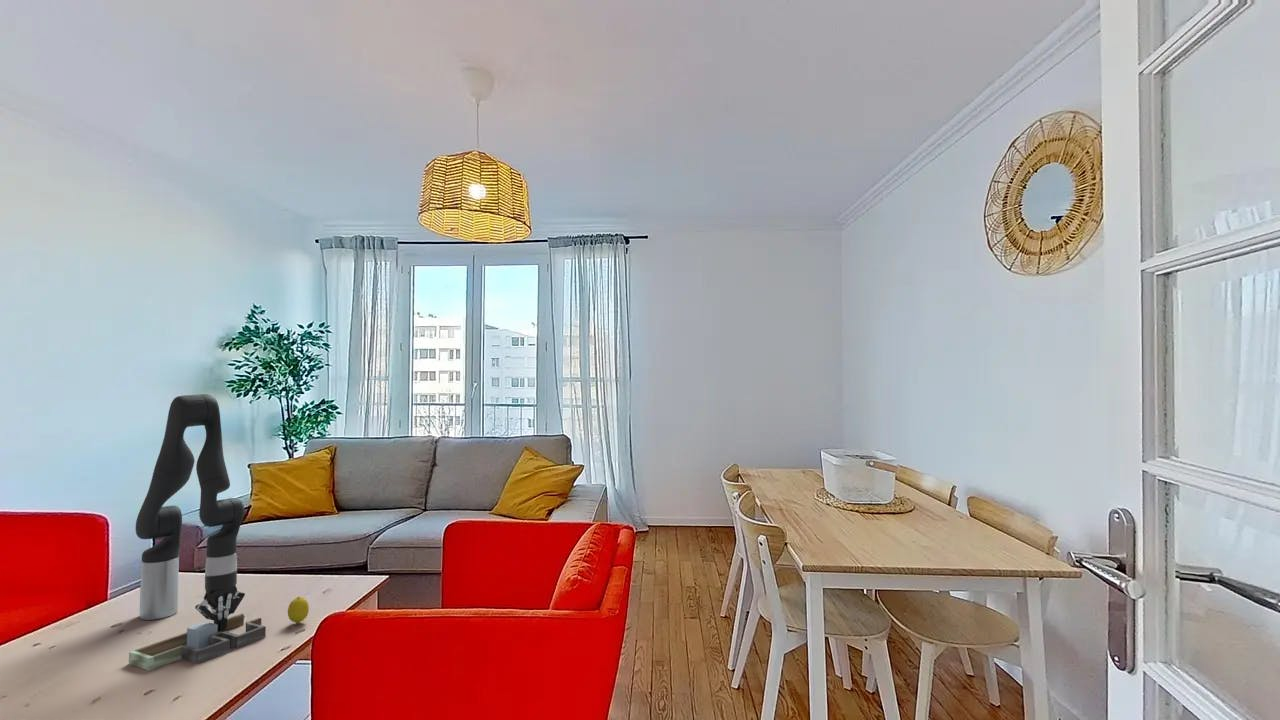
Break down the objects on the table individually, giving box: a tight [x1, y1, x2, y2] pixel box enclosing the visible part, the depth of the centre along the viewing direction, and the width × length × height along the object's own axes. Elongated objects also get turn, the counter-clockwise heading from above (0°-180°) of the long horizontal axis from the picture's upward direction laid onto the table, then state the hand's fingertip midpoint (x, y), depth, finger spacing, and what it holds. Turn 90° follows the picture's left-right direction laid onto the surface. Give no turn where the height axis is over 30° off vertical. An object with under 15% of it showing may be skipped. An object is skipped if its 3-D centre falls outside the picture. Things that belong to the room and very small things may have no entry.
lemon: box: [287, 596, 310, 625], centre depth 186 cm, size 6×6×8 cm
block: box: [186, 621, 218, 649], centre depth 171 cm, size 5×5×5 cm
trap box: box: [128, 613, 267, 671], centre depth 169 cm, size 16×29×3 cm, turn 156°
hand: (220, 632), depth 175 cm, fingers closed
